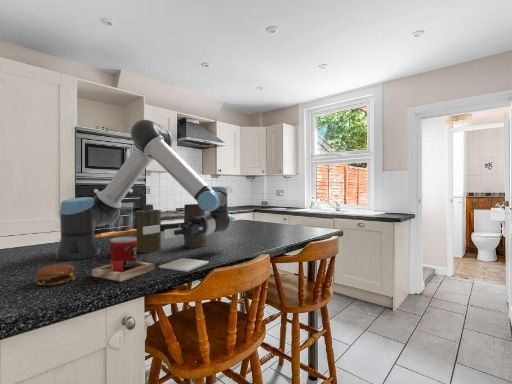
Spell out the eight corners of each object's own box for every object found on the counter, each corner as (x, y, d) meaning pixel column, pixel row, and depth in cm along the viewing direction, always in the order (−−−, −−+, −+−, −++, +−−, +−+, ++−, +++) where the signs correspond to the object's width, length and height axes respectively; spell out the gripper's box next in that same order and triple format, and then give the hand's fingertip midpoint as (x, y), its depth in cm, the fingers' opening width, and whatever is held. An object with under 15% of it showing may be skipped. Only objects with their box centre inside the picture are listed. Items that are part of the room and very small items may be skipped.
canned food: (127, 277, 87) (127, 241, 86) (104, 275, 88) (104, 240, 88) (142, 270, 94) (141, 236, 94) (121, 268, 96) (120, 236, 96)
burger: (36, 280, 84) (36, 264, 84) (73, 275, 90) (73, 260, 90) (34, 290, 76) (34, 273, 76) (75, 283, 82) (75, 267, 82)
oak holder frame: (91, 275, 88) (91, 269, 88) (126, 265, 100) (126, 259, 100) (120, 281, 82) (120, 274, 82) (154, 269, 94) (154, 263, 94)
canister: (133, 249, 127) (133, 204, 127) (157, 246, 133) (157, 203, 133) (139, 253, 118) (139, 205, 118) (164, 250, 124) (164, 204, 124)
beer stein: (204, 248, 128) (204, 203, 129) (180, 248, 128) (180, 203, 129) (210, 243, 143) (210, 204, 144) (189, 243, 143) (189, 204, 145)
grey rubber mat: (158, 267, 97) (158, 265, 97) (182, 259, 108) (182, 258, 108) (187, 271, 92) (187, 269, 92) (208, 262, 102) (208, 261, 102)
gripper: (223, 237, 107) (175, 247, 91) (182, 232, 123) (135, 239, 106) (222, 217, 107) (174, 223, 90) (182, 214, 123) (135, 219, 106)
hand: (153, 232), depth 98 cm, fingers open, 13 cm apart
